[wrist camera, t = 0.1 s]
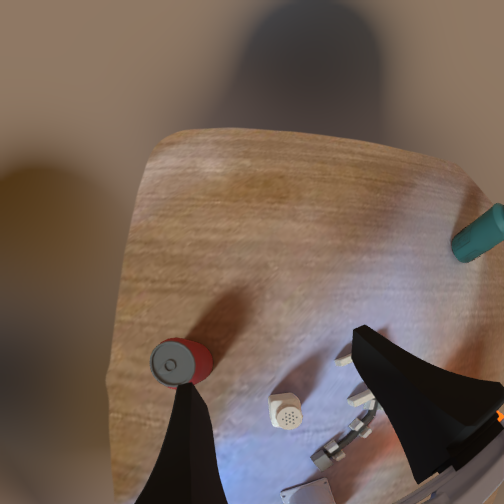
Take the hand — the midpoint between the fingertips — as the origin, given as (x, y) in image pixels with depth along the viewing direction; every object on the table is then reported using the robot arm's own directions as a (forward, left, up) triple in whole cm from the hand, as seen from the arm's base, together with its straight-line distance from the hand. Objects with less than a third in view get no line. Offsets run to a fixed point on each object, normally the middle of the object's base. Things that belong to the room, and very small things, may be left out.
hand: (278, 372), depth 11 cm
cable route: (-17, -10, -32) cm, 37 cm away
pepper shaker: (-8, -1, -32) cm, 33 cm away
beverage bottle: (+4, -45, -32) cm, 55 cm away
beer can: (+2, +10, -32) cm, 34 cm away
